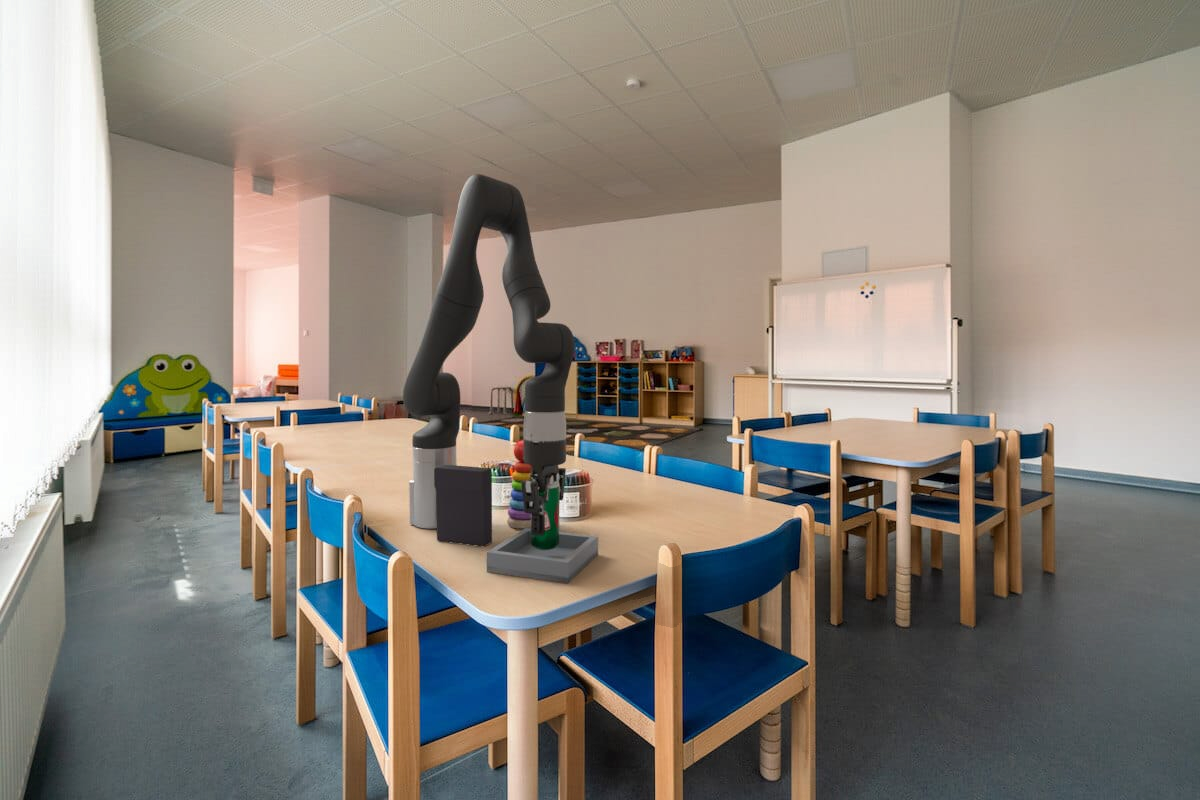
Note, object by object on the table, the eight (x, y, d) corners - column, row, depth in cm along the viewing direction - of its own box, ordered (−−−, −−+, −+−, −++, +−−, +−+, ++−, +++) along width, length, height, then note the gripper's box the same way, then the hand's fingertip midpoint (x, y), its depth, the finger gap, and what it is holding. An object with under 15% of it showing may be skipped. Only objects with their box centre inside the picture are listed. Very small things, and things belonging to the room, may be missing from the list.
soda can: (525, 547, 105) (525, 480, 104) (543, 540, 109) (543, 476, 108) (547, 552, 102) (547, 484, 101) (564, 545, 106) (565, 479, 105)
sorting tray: (486, 571, 101) (486, 552, 101) (525, 545, 115) (525, 528, 115) (567, 583, 96) (567, 562, 96) (598, 554, 110) (598, 536, 110)
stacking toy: (550, 526, 128) (550, 441, 127) (517, 532, 124) (516, 443, 123) (533, 518, 135) (533, 436, 134) (501, 523, 130) (500, 439, 129)
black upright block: (494, 541, 118) (493, 467, 116) (483, 548, 113) (482, 471, 112) (447, 535, 121) (446, 463, 120) (434, 541, 117) (433, 467, 116)
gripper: (542, 430, 112) (542, 518, 113) (506, 440, 98) (506, 540, 100) (579, 432, 109) (578, 522, 111) (547, 443, 96) (547, 545, 97)
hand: (544, 530), depth 105 cm, fingers closed on soda can, 5 cm apart
